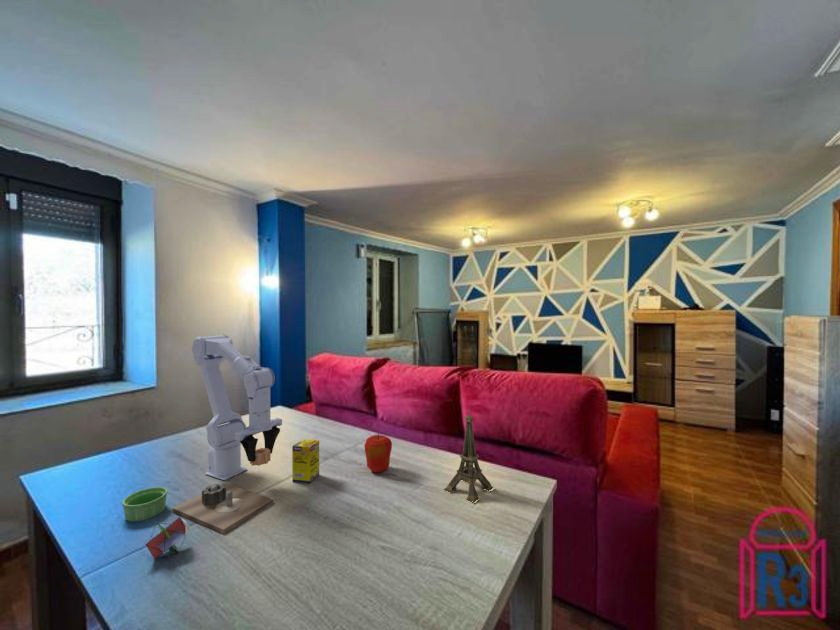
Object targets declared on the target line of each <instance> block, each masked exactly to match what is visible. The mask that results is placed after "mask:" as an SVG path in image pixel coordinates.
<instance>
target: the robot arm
mask: <svg viewBox="0 0 840 630" xmlns="http://www.w3.org/2000/svg"><path fill="white" fill-rule="evenodd" d="M233 343H234V342H233V339H232V338H230V335H227V334H221V335H212V336H210V335H209V336H196V337H195V338H194V340H193V342H192V344H191V345H192V346H191V351H192V355H193V358H194V361H195V365H197V366H199V368H200V372H201V376H202V379H203V383H204V386H205V389H206V393H207V396H208V401H209V404H210V407H211V411H212V416H213V417H212V418H211V420H210V421H209V422H208V424H207V425H206V434H207V435H206V436H207V437H206V440H207V442H208V445H209V446H210V447H209V449H208V451H207V471H206V472H205V475H207V476H210V477H213V478H216V479H219V480H222V481H227V480H228V479H230V478H233V477H235V476H238V474H241V473H242V472H245V471H247V470H248V468H247V467H245V466H242V463H241V461H242V459H241V458H242V452H241V451H242V449H241V446H242V447H243V449H244V452H245V456H246V458H247V459H246V460H247V461H248V462H250V461H251V462H254V461H255V454H256V450H257V444H258V442H259V441H258V440H259V439H258V438H255V436H254V435H257V434H260V433H262V434H263V440H264V441H263V442H264V448H269V450H270V454H273V450H274V446H275V443H276V439H277V438H278V436H279V434H280V432H281V428H280V427H281V426H283V418H279V417H277V418H273V419H271V387H273V385H275V382H276V381H275V379H276V378H275V374H274V371H273V370H272V369H271V368H269V367H263V366H260V365H259V364H258V363H257V362H256V361H254V359H252V357H251V356H250V355H242V354H241V353H240V352H239V351H238V349H236V347H235V346H234V345H233ZM225 361H228V363H230V364H232V366H231V367H232V370H233V372H234V373H236V374H237V375H238V376H239V378H241V379H242V380H243V385H244V387H245V390H246V396H247V397H248V426H247V424H246V423H245V421H244V420H243V418H242V415H241V414H240V413H238V412H235V411H234V410H232V407H231V404H230V403H231V402H230V399H229V396H228V393H227V389H226V386H225V382H224V380H223V375H222V372H221V368H220V365H221V364H222V363H223V362H225Z"/></svg>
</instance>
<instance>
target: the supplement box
mask: <svg viewBox="0 0 840 630" xmlns="http://www.w3.org/2000/svg"><path fill="white" fill-rule="evenodd" d="M291 449H292V465H291V466H292V482H293V483H302V484H311V483H312V481H314V480H315V479H316V478H317V477H318V476H319V475H320V440H319V439H309V438H308V439H307V438H301V439H300V440H299V441H298V442H297V443H295V444H293V445H292V448H291Z"/></svg>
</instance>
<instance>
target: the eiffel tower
mask: <svg viewBox="0 0 840 630" xmlns="http://www.w3.org/2000/svg"><path fill="white" fill-rule="evenodd" d="M463 420H464V422H465V423H466V424H465V433H464V434H465V435H464V441H463V449H462V453H460V455H459V458H461V459H460V464H459V467H458V469H456V474H455V475H454V476H453V478H452V479H451V480H450V482H449V483H448V484H447V486H446V487H445V488H443V489H442V490H443V491H444V490H445V491H444V492H446V491H448V492H450V493H449V494H453V493H454V492H456V491H457V490H458V488H457V486H458V485H459V483H460V482H463V481H465V482H468V483H467V484H469V485H468V493H467V497H466V499H465V501H466V500H468V501H470V502H472V501H473V502H472V503H471V504H473V503H474V502H475V501H476V500H478V499H480V497H479V496H478V492H477V490H476V486H475V482H476V481H477V480H478V481H479V484H481V486H482V487H481V489H482V488H483V489H486V490H488V491H489V490H491V489H492V488H493V487H494V486H492V484H491V482H490V481H489V480H488V479H487V477H486V476H485V475H484V473H483V469H481V467H480V465H479V460H478V459H479V457H480V456H479V454H477V453H476V452H477V451H476V445H475V444H476V443H475V437H474V428H473V422H474V421H475V419H474V416H472V415H471V409H470V407H468V415H467V416H465V417H464V419H463ZM461 480H463V481H461ZM465 482H464V483H465ZM456 489H457V490H456ZM455 490H456V491H455ZM453 491H454V492H453ZM448 492H447V493H448ZM452 492H453V493H452ZM468 501H467V502H468ZM470 502H469V503H470ZM473 505H476V504H475V503H474V504H473Z"/></svg>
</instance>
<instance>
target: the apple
mask: <svg viewBox="0 0 840 630" xmlns="http://www.w3.org/2000/svg"><path fill="white" fill-rule="evenodd" d="M391 440H392V439H390V437H388V436H385V435H382V434H379V433H377V434H375V435H371V436H369V437H368V438H366V441H365V443H364V453H365V458H366V466H367V467H368V469H369V470H370V471H371V472H373V473H376V474H377V473H380V474H381V473H384V472H385V471H387V470H388V468H389V467H390V463H391V462H390V461H391V460H390V458H391V457H390V456H391V453H392V448H393V442H392V441H391Z"/></svg>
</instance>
